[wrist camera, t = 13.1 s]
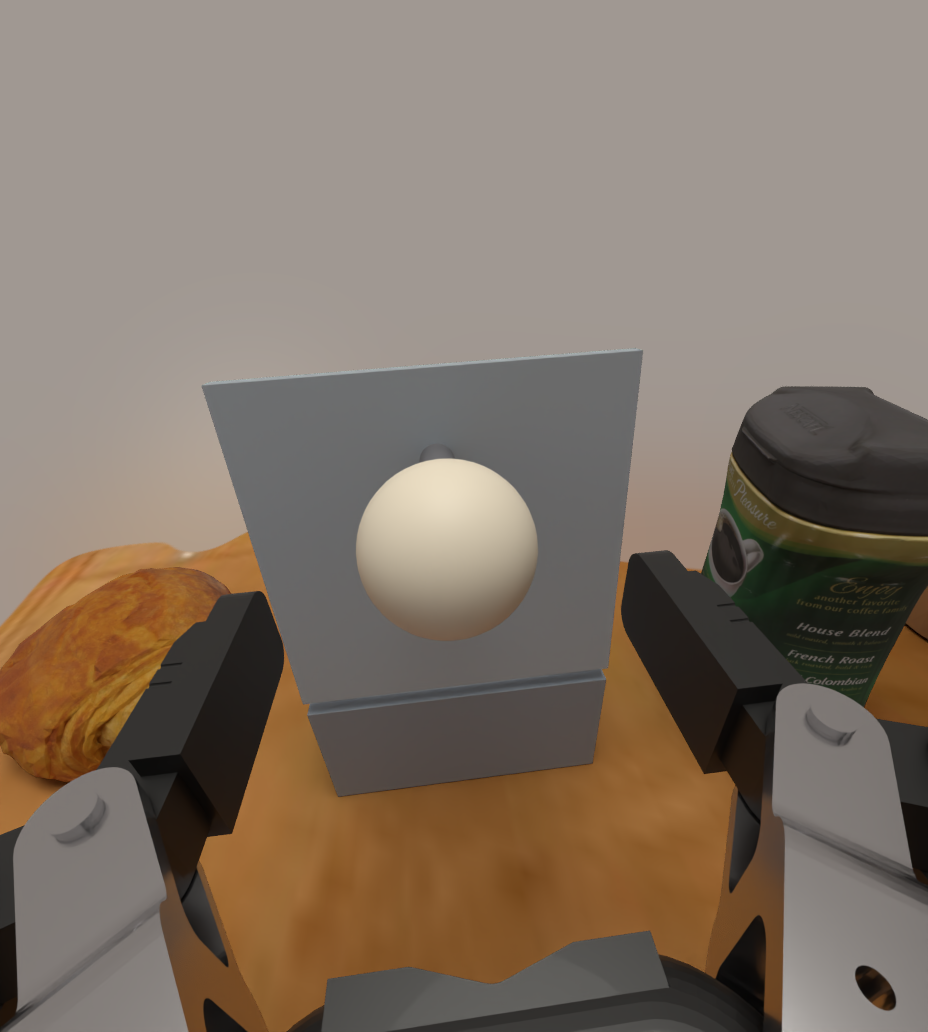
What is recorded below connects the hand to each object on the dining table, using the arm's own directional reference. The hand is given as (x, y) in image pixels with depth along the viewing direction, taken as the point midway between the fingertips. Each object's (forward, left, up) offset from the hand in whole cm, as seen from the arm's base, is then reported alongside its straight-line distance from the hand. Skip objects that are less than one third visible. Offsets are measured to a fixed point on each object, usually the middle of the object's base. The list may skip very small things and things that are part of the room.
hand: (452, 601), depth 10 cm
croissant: (+12, -24, -19) cm, 33 cm away
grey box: (-6, -11, -18) cm, 22 cm away
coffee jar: (-20, +1, -18) cm, 27 cm away
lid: (-3, -6, -4) cm, 8 cm away
